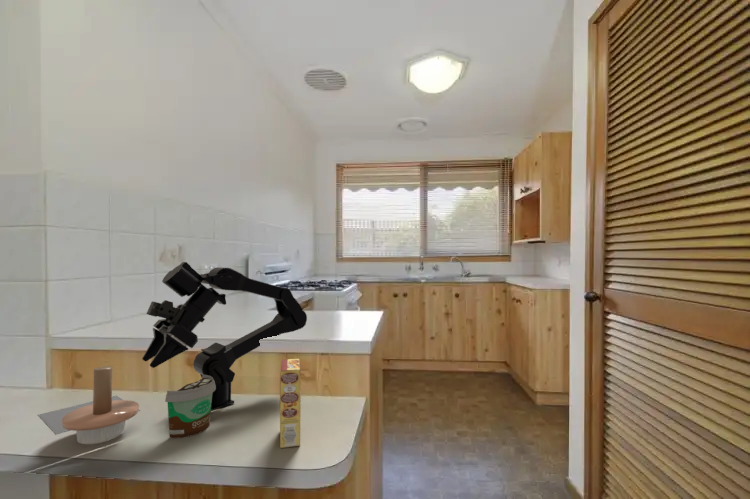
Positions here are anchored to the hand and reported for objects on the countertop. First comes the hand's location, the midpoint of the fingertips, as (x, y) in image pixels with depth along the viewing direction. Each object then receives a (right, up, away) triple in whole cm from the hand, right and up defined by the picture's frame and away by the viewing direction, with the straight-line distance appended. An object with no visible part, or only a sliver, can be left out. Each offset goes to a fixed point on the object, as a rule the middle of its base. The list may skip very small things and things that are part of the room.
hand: (147, 363), depth 85 cm
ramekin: (-5, -14, -7) cm, 16 cm away
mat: (-16, -13, +4) cm, 22 cm away
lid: (-5, -9, -7) cm, 13 cm away
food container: (+13, -14, -3) cm, 19 cm away
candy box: (+34, -14, -7) cm, 38 cm away
